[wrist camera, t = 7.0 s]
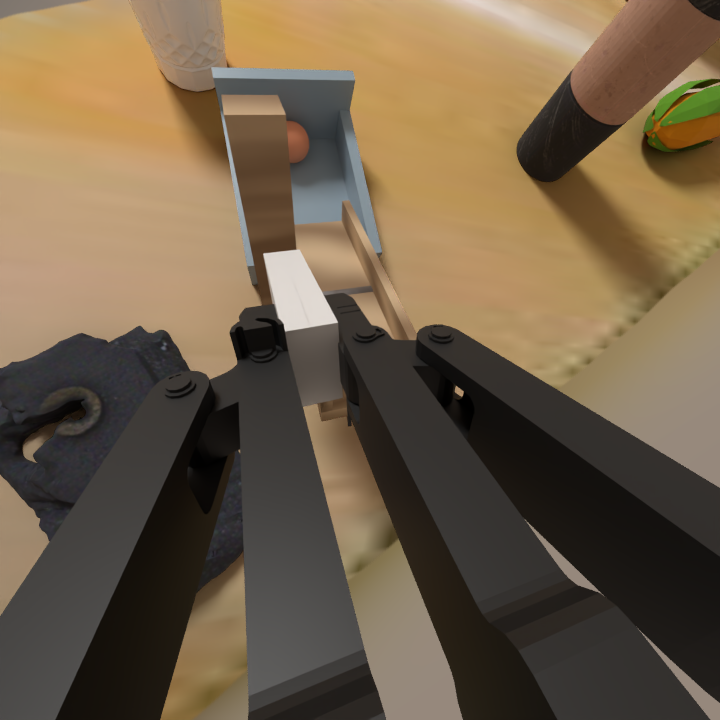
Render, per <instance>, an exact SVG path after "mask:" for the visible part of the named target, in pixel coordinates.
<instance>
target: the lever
mask: <svg viewBox="0 0 720 720" xmlns="http://www.w3.org/2000/svg"><path fill="white" fill-rule="evenodd" d="M221 96H222V104H223V112H224V118H225V123H226V128H227V133H228V138H229V143H230V148H231V153H232V158H233V163H234V168H235V173H236V178H237V183H238V187H239V192H240V197H241V202H242V207H243V212H244V217H245V222H246V227H247V232H248V237H249V242H250V247H251V252H252V257H253V262H254V267H255V272H256V277H257V282H258V286H259V291H260V296H261V301H262V306H263V305H270V304H272V298H271V293H270V288H269V282H268V277H267V271H266V266H265V261H264V255H263V254H264V253H272V252H281V251H290V250H300V251H301V253H302V255H303V257H304V259H305V261H306V263H307V265H308V267H309V268H310V270H311V272H312V274H313V276H314V278H315V280H316V282H317V284H318V285H319V287H320V289H321V291H322V293H323V295H330V294H337V293H345V294H347V295H349V296H351V297H353V299H354V300H355V302H356V303H357V305H358V306H359V307H360V309H361V311H362V312H363V313H364V315H365V316H366V318H367V319H368V321H369V322H370V323H371V325H374V326H378V327H381V328H383V329H384V330H385V331H387V332H388V334H389V335H390V336H391V338H392V339H395V340H416V338H417V334H416V332H415V330H414V328H413V326H412V324H411V322H410V320H409V318H408V316H407V314H406V312H405V310H404V308H403V306H402V304H401V302H400V300H399V298H398V296H397V294H396V292H395V290H394V288H393V286H392V284H391V282H390V280H389V278H388V276H387V274H386V272H385V270H384V268H383V266H382V264H381V262H380V260H379V258H378V256H377V254H376V252H375V250H374V248H373V246H372V244H371V242H370V240H369V238H368V236H367V234H366V233H365V231H364V229H363V227H362V225H361V223H360V221H359V219H358V217H357V215H356V213H355V211H354V209H353V207H352V205H351V203H350V201H349V200H345V201H342V219H341V221H334V222H321V223H309V224H296V225H295V224H294V212H293V199H292V186H291V173H290V161H289V148H288V135H287V123H286V114H285V111H284V109H283V106H282V104H281V102H280V99H279V97H278V95H221ZM342 391H343V398H340V399H335V400H331V401H326V402H322V403H317V404H318V408H319V413H320V417H321V421H326V420H331V419H335V418H340V417H345V416H347V402H346V394H345V391H344V389H343V386H342Z"/></svg>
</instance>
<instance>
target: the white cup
mask: <svg viewBox="0 0 720 720" xmlns="http://www.w3.org/2000/svg"><path fill="white" fill-rule="evenodd" d="M129 2H130V5H131V7H132V9H133V12H134V14H135V16H136V18H137V20H138V22H139V24H140V27H141V30H142V32H143V34H144V36H145V38H146V40H147V42H148V44H149V46H150V48H151V51H152V53H153V55H154V58H155V60H156V63H157V65H158V67H159V69H160V70H161V72H162V73H163V74H164V76H165V77H166V79H167V80H168V81H170V82H172V83H173V84H175V85H176V86H178V87H180V88H182V89H186V90H191V91H196V92H199V91H205V90H211V89H213V88H215V84H214V80H213V74H212V68H211V67H222V68H227V61H226V54H225V44H224V40H225V35H224V25H223V17H222V7H221V0H129Z"/></svg>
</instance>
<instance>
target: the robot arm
mask: <svg viewBox="0 0 720 720" xmlns="http://www.w3.org/2000/svg"><path fill="white" fill-rule="evenodd" d="M263 255H264V261H265V266H266V271H267V277H268V282H269V288H270V293H271V298H272V304H270V305H263V306H256V307H250V308H245V309H244V310H243V312H242V313H241V314H240V316H239V320H240V321H239V322H237V323H236V324H235V325H234V326H233V327H232V328H231V330H230V336H231V340H232V343H233V347H234V350H235V354H236V357H237V365H236V366H235V367H234V368H233V369H231V370H230V371H228V372H227V373H224V374H222V375H220V376H218V377H215V378H213V379H210V380H209V378H208V377H207V375H206V374H204V373H202V372H199V371H185V372H179V373H175V374H172V375H170V376H168V377H166V378H164V379H163V380H161V381H159V382H158V383H157V384H156V385H155V386H154V387H153V388H152V389H151V390H150V392H149V393H148V395H147V396H146V398H145V399H144V401H143V402H142V404H141V405H140V407H139V408H138V410H137V411H136V413H135V414H134V416H133V417H132V419H131V420H130V422H129V424H128V425H127V427H126V428H125V430H124V431H123V433H122V434H121V436H120V437H119V439H118V440H117V442H116V443H115V445H114V446H113V448H112V449H111V451H110V452H109V454H108V455H107V457H106V458H105V460H104V461H103V463H102V464H101V466H100V467H99V469H98V470H97V472H96V473H95V475H94V476H93V478H92V479H91V481H90V482H89V484H88V485H87V487H86V488H85V490H84V491H83V493H82V494H81V496H80V497H79V499H78V500H77V502H76V503H75V505H74V506H73V508H72V509H71V511H70V512H69V514H68V515H67V517H66V518H65V520H64V521H63V523H62V524H61V526H60V527H59V529H58V530H57V532H56V533H55V535H54V536H53V538H52V539H51V541H50V542H49V544H48V545H47V547H46V548H45V550H44V551H43V553H42V554H41V556H40V557H39V559H38V560H37V562H36V563H35V565H34V566H33V568H32V569H31V571H30V572H29V574H28V575H27V577H26V578H25V580H24V581H23V583H22V584H21V586H20V587H19V589H18V590H17V592H16V593H15V595H14V596H13V598H12V599H11V601H10V602H9V604H8V605H7V607H6V608H5V610H4V611H3V613H2V614H1V616H0V720H160V718H161V715H162V711H163V708H164V704H165V701H166V697H167V694H168V690H169V687H170V683H171V680H172V676H173V673H174V669H175V666H176V662H177V659H178V655H179V652H180V648H181V645H182V641H183V638H184V634H185V631H186V627H187V624H188V620H189V617H190V613H191V610H192V606H193V603H194V599H195V596H196V592H197V589H198V585H199V582H200V578H201V575H202V571H203V568H204V564H205V561H206V557H207V554H208V550H209V547H210V543H211V540H212V536H213V533H214V529H215V526H216V522H217V519H218V515H219V512H220V508H221V505H222V501H223V498H224V494H225V491H226V487H227V484H228V480H229V477H230V473H231V470H232V466H233V463H234V459H235V451H237V450H239V449H240V456H241V486H242V516H243V545H244V575H245V605H246V634H247V664H248V694H249V715H248V720H386V717H385V713H384V710H383V707H382V703H381V700H380V697H379V693H378V690H377V688H376V685H375V682H374V679H373V677H372V674H371V671H370V668H369V664H368V661H367V657H366V653H365V650H364V646H363V642H362V638H361V634H360V630H359V626H358V622H357V618H356V614H355V611H354V606H353V603H352V599H351V595H350V591H349V587H348V583H347V579H346V575H345V571H344V567H343V563H342V559H341V556H340V552H339V548H338V544H337V540H336V536H335V532H334V528H333V524H332V520H331V516H330V512H329V508H328V505H327V501H326V497H325V493H324V489H323V485H322V481H321V477H320V473H319V469H318V465H317V461H316V457H315V454H314V450H313V446H312V442H311V438H310V434H309V430H308V426H307V422H306V418H305V414H304V410H303V407H304V406H308V405H313V404H317V403H322V402H326V401H331V400H335V399H340V398H343V391H342V386H343V389H344V391H345V394H346V402H347V420H348V426H352V425H351V420H352V422H353V425H354V427H355V430H356V432H357V435H358V437H359V440H360V442H361V445H362V447H363V450H364V452H365V455H366V457H367V460H368V462H369V465H370V468H371V470H372V473H373V475H374V478H375V480H376V483H377V485H378V488H379V490H380V493H381V495H382V498H383V500H384V503H385V505H386V508H387V510H388V513H389V515H390V518H391V520H392V523H393V525H394V528H395V530H396V533H397V535H398V538H399V540H400V543H401V545H402V548H403V550H404V553H405V555H406V558H407V560H408V563H409V565H410V568H411V570H412V573H413V575H414V578H415V581H416V582H417V586H418V588H419V591H420V593H421V595H422V598H423V600H424V603H425V606H426V608H427V610H428V613H429V616H430V618H431V621H432V623H433V626H434V628H435V631H436V633H437V636H438V638H439V641H440V643H441V646H442V648H443V651H444V653H445V656H446V658H447V661H448V663H449V666H450V669H451V672H452V675H453V679H454V682H455V688H456V693H457V699H458V704H459V707H460V711H461V714H462V718H463V720H710V719H709V718H708V716H707V715H706V714H705V713H704V711H703V710H702V709H701V708H700V706H699V705H698V704H697V702H696V701H695V700H694V699H693V697H692V696H691V695H690V694H689V692H688V691H687V690H686V689H685V688H684V686H683V685H682V684H681V682H680V681H679V680H678V679H677V677H676V676H675V675H674V674H673V672H672V671H671V670H670V669H669V667H668V666H667V665H666V664H665V662H664V661H663V660H662V659H661V657H660V656H659V655H658V654H657V652H656V651H655V650H654V649H653V647H652V646H651V645H650V643H649V642H648V641H647V640H646V638H645V637H644V636H643V635H642V633H643V634H644V635H645V636H647V637H648V638H649V639H650V640H651V641H652V642H653V643H654V644H655V645H656V646H657V647H658V648H659V649H660V650H661V651H662V652H663V653H664V654H665V655H666V656H667V657H668V658H669V659H670V660H672V661H673V662H674V663H675V664H676V665H677V666H678V667H679V668H680V669H682V670H683V671H684V672H685V673H686V674H687V675H688V676H689V677H691V679H692V680H694V681H695V682H696V683H697V684H698V685H699V686H700V687H701V688H702V689H703V690H705V691H706V692H707V693H708V694H710V695H711V696H712V697H713V698H715V699H716V700H717V701H718V702H719V703H720V488H719V487H717V486H716V485H714V484H712V483H710V482H709V481H707V480H706V479H704V478H702V477H701V476H699V475H697V474H696V473H694V472H693V471H691V470H689V469H687V468H686V467H684V466H683V465H681V464H679V463H678V462H676V461H674V460H673V459H671V458H669V457H667V456H666V455H664V454H663V453H661V452H659V451H658V450H656V449H654V448H653V447H651V446H649V445H648V444H646V443H644V442H643V441H641V440H639V439H638V438H636V437H635V436H633V435H631V434H630V433H628V432H626V431H625V430H623V429H621V428H620V427H618V426H616V425H614V424H613V423H611V422H610V421H608V420H606V419H604V418H603V417H601V416H600V415H598V414H596V413H595V412H593V411H591V410H590V409H588V408H586V407H585V406H583V405H581V404H580V403H578V402H576V401H575V400H573V399H572V398H570V397H568V396H567V395H565V394H563V393H562V392H560V391H558V390H557V389H555V388H553V387H552V386H550V385H548V384H547V383H545V382H543V381H542V380H540V379H538V378H537V377H535V376H533V375H532V374H530V373H528V372H527V371H525V370H523V369H522V368H520V367H519V366H517V365H515V364H514V363H512V362H510V361H509V360H507V359H505V358H504V357H502V356H500V355H499V354H497V353H495V352H494V351H492V350H490V349H489V348H487V347H485V346H484V345H482V344H480V343H479V342H477V341H475V340H474V339H472V338H470V337H469V336H467V335H465V334H464V333H462V332H461V331H459V330H457V329H455V328H452V327H450V326H445V325H439V324H438V325H437V324H436V325H430V326H425V327H423V328H422V329H420V330H419V331H418V333H417V338H416V340H395V339H392V338H391V336H390V335H389V334H388V332H387V331H385V330H384V329H383V328H381V327H378V326H374V325H371V323H370V322H369V321H368V319H367V318H366V316H365V315H364V313H363V312H362V311H361V309H360V307H359V306H358V305H357V303H356V302H355V300H354V299H353V297H351V296H349V295H347V294H345V293H337V294H330V295H323V293H322V291H321V289H320V287H319V285H318V284H317V282H316V280H315V278H314V276H313V274H312V272H311V270H310V268H309V267H308V265H307V263H306V261H305V259H304V257H303V255H302V253H301V251H300V250H290V251H281V252H272V253H264V254H263ZM456 386H457V387H459V388H460V389H461V390H463V391H464V394H463V397H461V396H459V395H458V394H456V393H455V387H456ZM524 519H525V520H526V521H527V522H529V524H530V525H531V526H532V527H534V529H536V530H537V531H538V532H539V533H540V534H541V535H542V536H543V537H544V538H545V539H546V540H547V541H548V542H549V543H550V544H551V545H552V546H553V547H554V548H555V549H556V550H557V551H558V552H559V553H560V554H562V556H563V557H565V558H566V559H567V560H568V561H569V562H570V563H571V564H572V565H573V566H574V567H575V568H576V569H577V570H578V571H579V572H580V573H581V574H582V575H583V576H584V577H585V578H586V579H587V580H588V581H590V583H592V584H593V585H594V586H595V587H596V588H597V589H598V590H599V591H600V592H601V593H602V594H603V595H604V596H605V597H604V596H603V595H602V594H600V593H598V592H595V591H593V590H589V589H587V588H584V587H581V586H578V585H576V584H575V583H574V582H573V581H571V580H570V579H569V578H568V577H567V576H566V575H565V574H564V573H563V571H562V570H561V569H560V568H559V566H558V565H557V564H556V562H555V561H554V559H553V558H552V557H551V555H550V554H549V553H548V551H547V550H546V548H545V547H544V546H543V544H542V543H541V542H540V540H539V539H538V538H537V536H536V535H535V533H534V532H533V531H532V529H531V528H530V527H529V525H528V524H527V522H526V521H525V520H524ZM638 629H639V630H640V631H641V632H642V633H641V632H640V631H639V630H638Z"/></svg>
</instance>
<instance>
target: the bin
mask: <svg viewBox="0 0 720 720" xmlns="http://www.w3.org/2000/svg"><path fill="white" fill-rule="evenodd" d="M211 68H212V74H213V80H214V84H215V88H216V93H217V97H218V102H219V106H220V111H221V116H222V122H223V128H224V134H225V140H226V146H227V151H228V157H229V163H230V169H231V175H232V180H233V186H234V192H235V198H236V204H237V209H238V215H239V221H240V227H241V233H242V238H243V244H244V250H245V256H246V262H247V267H248V271H249V274H250V278H251V281H252V285H256V284H258V282H257V277H256V272H255V267H254V262H253V257H252V252H251V247H250V242H249V237H248V232H247V227H246V222H245V217H244V212H243V207H242V202H241V197H240V192H239V187H238V183H237V178H236V173H235V168H234V163H233V158H232V153H231V148H230V143H229V138H228V133H227V128H226V123H225V118H224V112H223V104H222V96H221V95H278V97H279V99H280V102H281V104H282V106H283V109H284V111H285V114H286V121H294V122H297V123H298V124H300V125H301V126H302V127H303V128H304V129H305V131H306V133H307V135H308V138H309V150H308V153H307V155H306V157H305V158H304V159H303V160H302V161H300V162H298V163H290V173H291V186H292V199H293V212H294V224H295V225H296V224H309V223H321V222H334V221H341V219H342V201H345V200H349V201H350V203H351V205H352V207H353V209H354V211H355V213H356V215H357V217H358V219H359V221H360V223H361V225H362V227H363V229H364V231H365V233H366V234H367V236H368V238H369V240H370V242H371V244H372V246H373V248H374V250H375V252H376V254H377V256H378V258H379V257H380V255H381V254H382V249H381V245H380V241H379V236H378V232H377V228H376V223H375V219H374V215H373V210H372V206H371V202H370V197H369V193H368V189H367V184H366V180H365V176H364V171H363V167H362V163H361V158H360V154H359V150H358V145H357V141H356V136H355V132H354V128H353V123H352V119H351V115H350V105H351V100H352V94H353V89H354V84H355V78H354V73H353V71H337V70H299V69H260V68H222V67H211Z"/></svg>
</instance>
